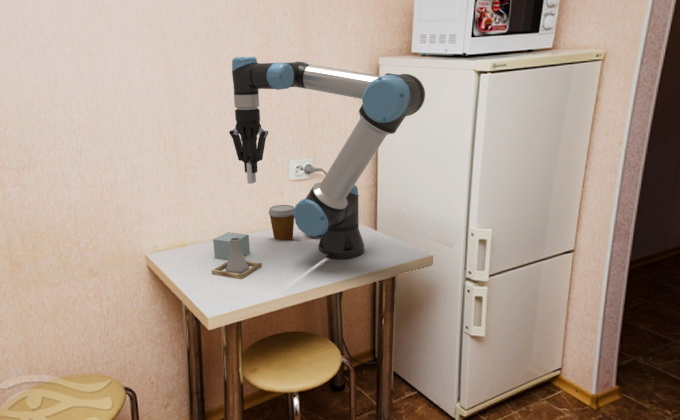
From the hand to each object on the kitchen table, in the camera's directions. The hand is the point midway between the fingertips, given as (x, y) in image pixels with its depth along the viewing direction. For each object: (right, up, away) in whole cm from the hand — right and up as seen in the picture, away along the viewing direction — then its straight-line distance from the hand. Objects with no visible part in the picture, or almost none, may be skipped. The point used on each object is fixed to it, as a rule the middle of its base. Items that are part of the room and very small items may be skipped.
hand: (251, 182), depth 182 cm
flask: (-2, -27, -12) cm, 30 cm away
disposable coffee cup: (+8, -20, +19) cm, 28 cm away
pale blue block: (-6, -23, +1) cm, 24 cm away
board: (-4, -27, -6) cm, 27 cm away
